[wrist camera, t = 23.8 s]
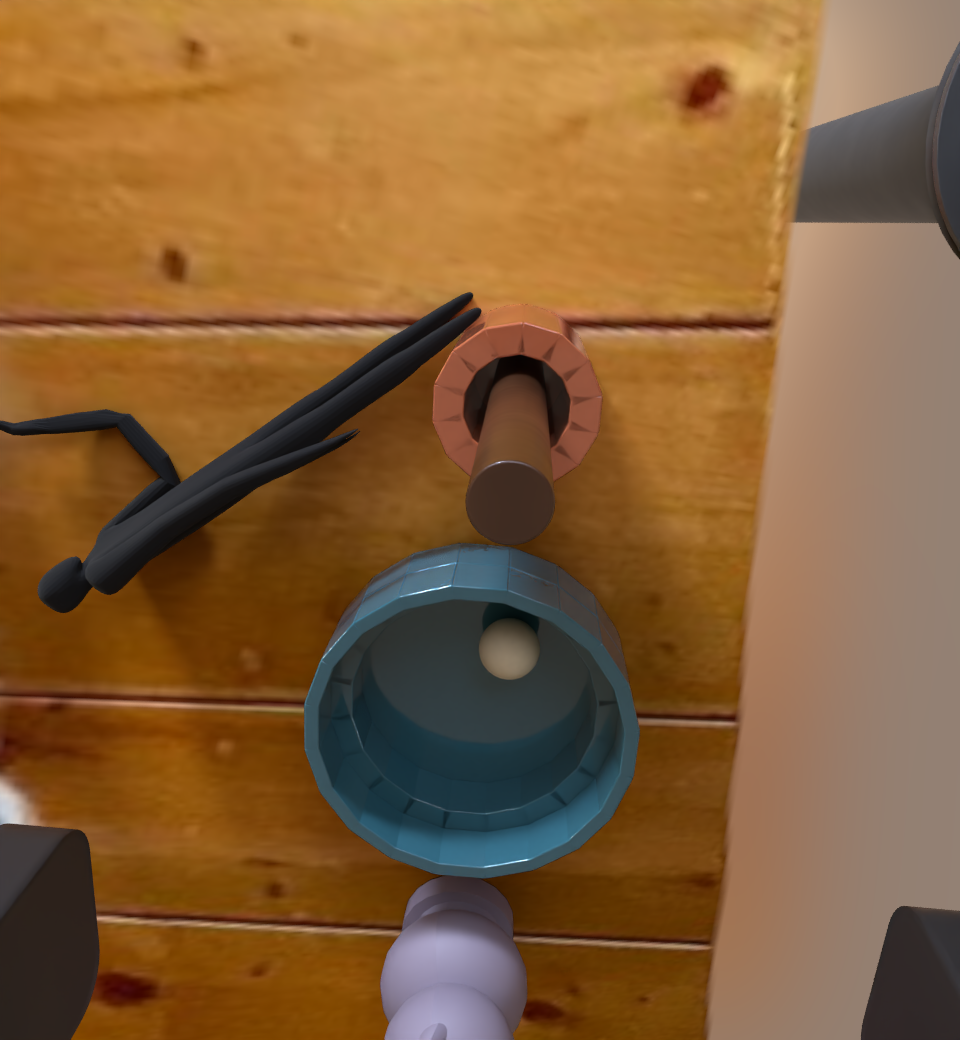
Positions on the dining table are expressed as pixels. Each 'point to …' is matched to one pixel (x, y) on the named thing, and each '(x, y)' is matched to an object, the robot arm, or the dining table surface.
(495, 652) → the ball
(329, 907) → the dining table surface
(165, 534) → the black elongated part
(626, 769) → the bowl
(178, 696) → the dining table surface
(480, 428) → the holder
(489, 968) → the cat figurine
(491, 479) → the stick
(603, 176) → the dining table surface
